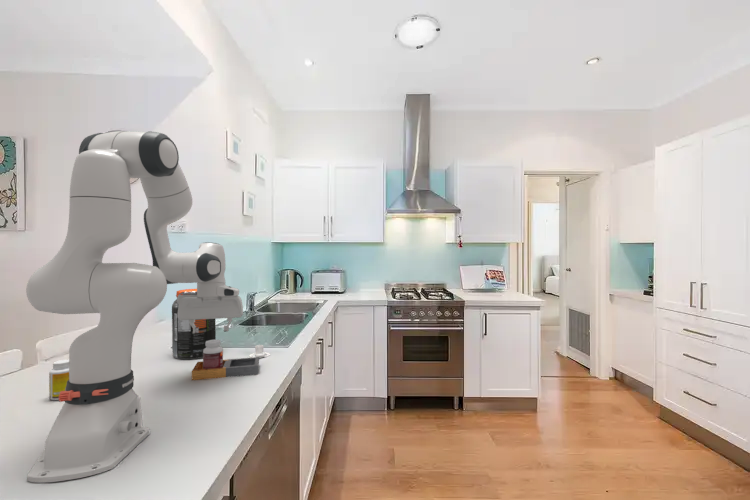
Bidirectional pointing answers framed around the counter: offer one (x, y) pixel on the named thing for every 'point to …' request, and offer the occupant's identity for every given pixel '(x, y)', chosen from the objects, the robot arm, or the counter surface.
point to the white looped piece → (259, 352)
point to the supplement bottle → (58, 378)
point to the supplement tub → (190, 334)
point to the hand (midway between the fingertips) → (211, 332)
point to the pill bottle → (213, 355)
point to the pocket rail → (227, 369)
